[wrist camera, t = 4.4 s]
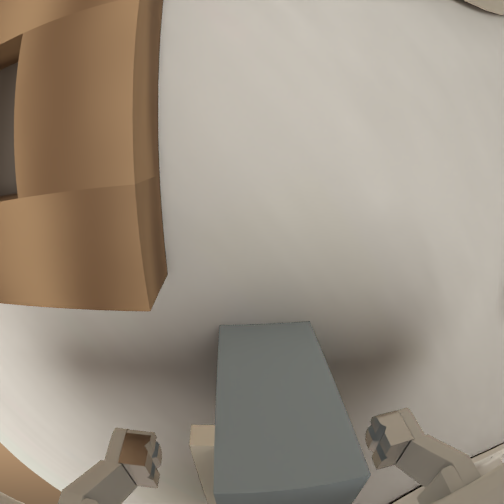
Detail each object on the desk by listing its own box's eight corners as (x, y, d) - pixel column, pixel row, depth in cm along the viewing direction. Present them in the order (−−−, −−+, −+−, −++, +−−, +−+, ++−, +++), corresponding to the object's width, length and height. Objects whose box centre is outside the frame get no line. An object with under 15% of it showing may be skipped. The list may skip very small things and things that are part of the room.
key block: (309, 321, 13) (370, 474, 6) (300, 397, 15) (333, 527, 7) (203, 325, 13) (184, 492, 5) (212, 401, 15) (208, 538, 7)
